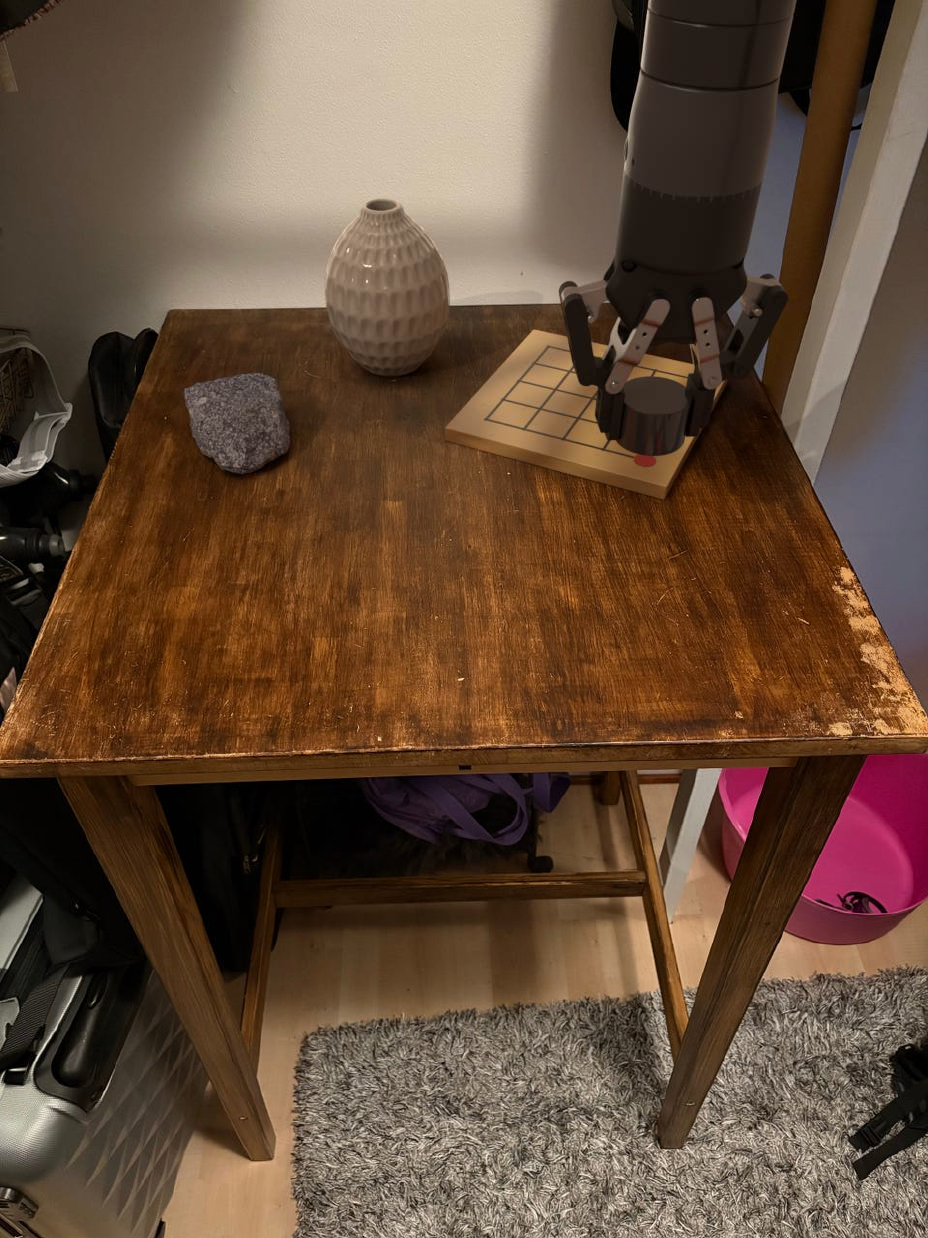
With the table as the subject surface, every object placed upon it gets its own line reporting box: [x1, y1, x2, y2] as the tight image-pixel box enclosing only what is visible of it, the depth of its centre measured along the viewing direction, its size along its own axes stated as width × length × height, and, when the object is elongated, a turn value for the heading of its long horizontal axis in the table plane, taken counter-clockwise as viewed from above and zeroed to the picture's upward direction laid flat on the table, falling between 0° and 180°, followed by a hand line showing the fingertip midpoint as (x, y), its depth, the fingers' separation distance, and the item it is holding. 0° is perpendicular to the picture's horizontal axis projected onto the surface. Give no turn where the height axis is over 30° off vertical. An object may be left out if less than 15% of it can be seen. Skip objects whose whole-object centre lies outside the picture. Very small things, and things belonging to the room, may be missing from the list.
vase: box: [324, 197, 451, 378], centre depth 93 cm, size 13×13×17 cm
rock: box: [183, 372, 291, 475], centre depth 87 cm, size 12×5×10 cm
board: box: [444, 329, 729, 501], centre depth 91 cm, size 22×22×2 cm
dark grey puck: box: [615, 376, 692, 456], centre depth 60 cm, size 5×5×3 cm
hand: (649, 431), depth 61 cm, fingers closed on dark grey puck, 4 cm apart
